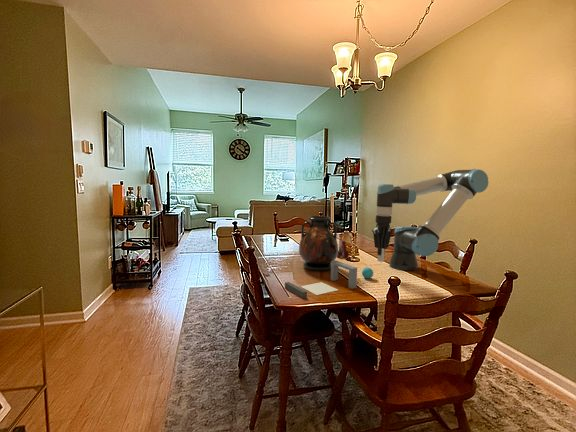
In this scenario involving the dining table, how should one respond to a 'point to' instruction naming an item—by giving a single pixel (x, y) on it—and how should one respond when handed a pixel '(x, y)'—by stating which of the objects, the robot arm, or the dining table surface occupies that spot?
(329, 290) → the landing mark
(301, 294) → the stopper
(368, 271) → the ball
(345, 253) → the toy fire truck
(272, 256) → the dining table surface
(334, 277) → the bridge
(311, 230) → the amphora vase
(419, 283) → the dining table surface
